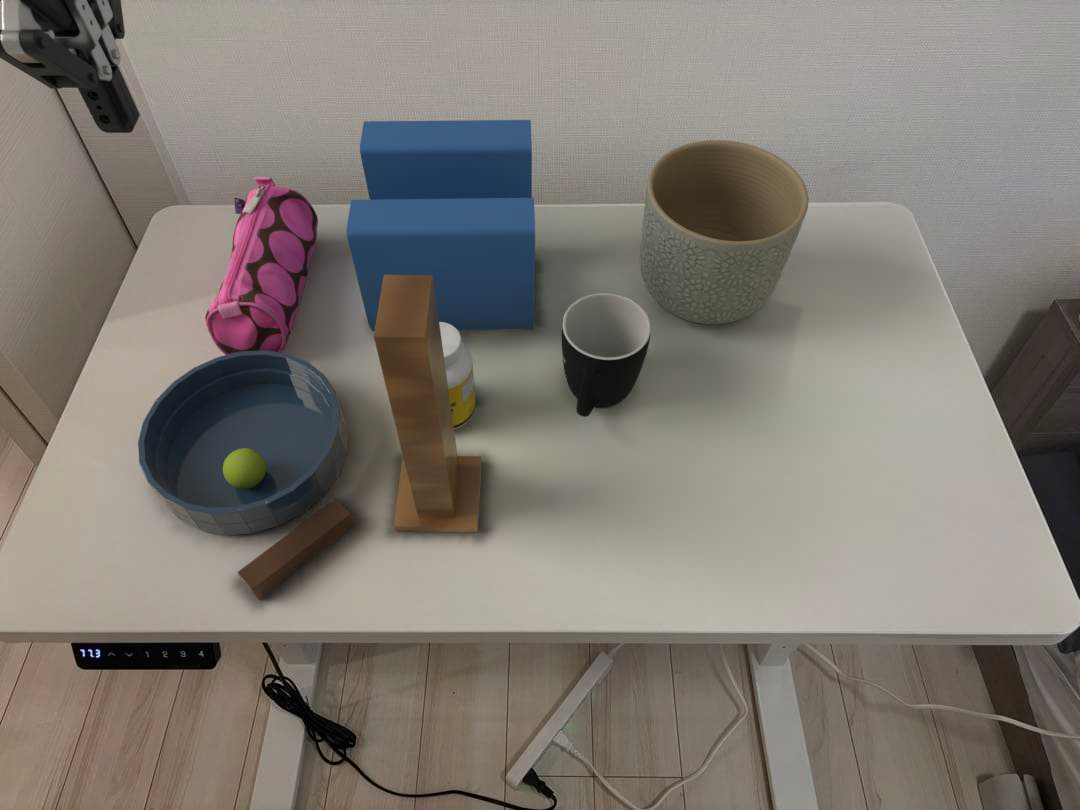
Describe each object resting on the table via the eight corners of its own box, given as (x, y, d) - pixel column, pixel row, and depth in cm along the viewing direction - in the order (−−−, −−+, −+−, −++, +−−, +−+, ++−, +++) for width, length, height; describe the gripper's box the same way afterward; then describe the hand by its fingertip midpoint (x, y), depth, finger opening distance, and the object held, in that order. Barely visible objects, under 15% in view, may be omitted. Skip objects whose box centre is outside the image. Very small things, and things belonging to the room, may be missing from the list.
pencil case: (248, 236, 101) (223, 172, 93) (325, 235, 101) (306, 170, 93) (214, 369, 88) (182, 307, 80) (301, 367, 89) (278, 306, 80)
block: (388, 242, 100) (364, 118, 86) (530, 240, 101) (530, 116, 86) (375, 353, 90) (345, 232, 75) (534, 350, 90) (535, 230, 76)
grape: (242, 501, 79) (235, 491, 75) (218, 471, 79) (210, 459, 76) (276, 476, 80) (271, 465, 77) (253, 447, 81) (246, 434, 77)
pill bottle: (403, 411, 85) (388, 342, 76) (445, 375, 88) (435, 304, 79) (447, 444, 83) (436, 377, 73) (488, 406, 86) (484, 336, 76)
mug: (573, 345, 91) (577, 283, 83) (649, 366, 89) (661, 305, 81) (538, 427, 84) (539, 368, 76) (619, 451, 83) (629, 394, 74)
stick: (351, 513, 75) (355, 525, 77) (335, 497, 76) (340, 509, 78) (251, 590, 71) (259, 600, 73) (236, 572, 72) (244, 582, 74)
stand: (395, 531, 77) (339, 347, 54) (404, 461, 82) (355, 264, 59) (477, 532, 77) (456, 348, 54) (481, 462, 82) (463, 265, 59)
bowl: (235, 575, 74) (218, 552, 70) (120, 460, 81) (98, 433, 77) (386, 445, 83) (379, 418, 79) (270, 351, 90) (258, 322, 86)
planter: (782, 345, 91) (822, 246, 79) (635, 341, 91) (652, 241, 79) (762, 243, 101) (794, 140, 89) (629, 240, 101) (643, 137, 89)
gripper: (-55, -248, 41) (95, 67, 55) (-192, -142, 33) (24, 193, 47) (93, -246, 41) (204, 68, 55) (-9, -141, 33) (152, 194, 47)
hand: (121, 125), depth 51 cm, fingers closed
